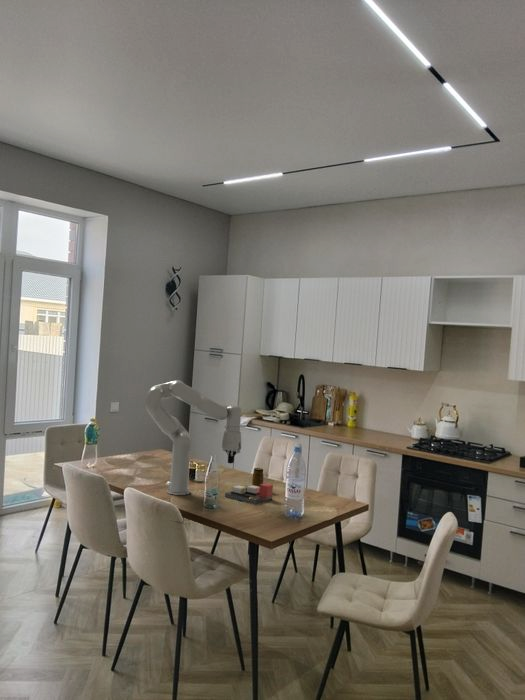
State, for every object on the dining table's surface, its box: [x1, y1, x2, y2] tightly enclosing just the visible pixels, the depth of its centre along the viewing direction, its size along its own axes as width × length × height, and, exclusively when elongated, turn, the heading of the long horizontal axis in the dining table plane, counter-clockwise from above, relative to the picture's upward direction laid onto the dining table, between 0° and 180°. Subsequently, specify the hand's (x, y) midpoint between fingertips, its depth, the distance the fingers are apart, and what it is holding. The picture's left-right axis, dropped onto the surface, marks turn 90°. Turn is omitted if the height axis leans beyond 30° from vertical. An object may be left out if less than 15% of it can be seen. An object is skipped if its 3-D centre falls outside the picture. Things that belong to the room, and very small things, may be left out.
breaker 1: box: [232, 485, 247, 494], centre depth 299 cm, size 5×5×3 cm
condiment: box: [251, 467, 264, 487], centre depth 316 cm, size 7×8×12 cm
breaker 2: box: [246, 484, 260, 494], centre depth 301 cm, size 5×5×3 cm
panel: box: [224, 487, 273, 506], centre depth 298 cm, size 20×15×3 cm
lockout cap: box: [259, 482, 274, 498], centre depth 297 cm, size 5×5×6 cm
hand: (230, 462), depth 303 cm, fingers closed
